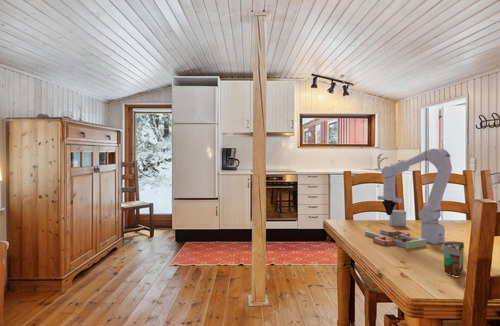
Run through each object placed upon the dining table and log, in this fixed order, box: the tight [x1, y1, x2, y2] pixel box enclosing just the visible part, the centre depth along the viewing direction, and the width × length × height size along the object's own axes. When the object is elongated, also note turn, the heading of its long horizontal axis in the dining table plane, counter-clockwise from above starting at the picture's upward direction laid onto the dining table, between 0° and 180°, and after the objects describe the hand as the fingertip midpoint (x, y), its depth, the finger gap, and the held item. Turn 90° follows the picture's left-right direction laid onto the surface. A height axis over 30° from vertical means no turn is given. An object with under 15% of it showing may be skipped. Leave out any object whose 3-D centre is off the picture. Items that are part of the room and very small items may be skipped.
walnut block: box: [401, 236, 418, 243], centre depth 149 cm, size 4×5×3 cm
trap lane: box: [364, 228, 427, 250], centre depth 157 cm, size 26×22×3 cm
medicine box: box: [388, 209, 407, 227], centre depth 188 cm, size 8×4×9 cm, turn 84°
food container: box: [440, 240, 465, 278], centre depth 115 cm, size 12×6×10 cm, turn 141°
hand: (389, 214), depth 172 cm, fingers closed
